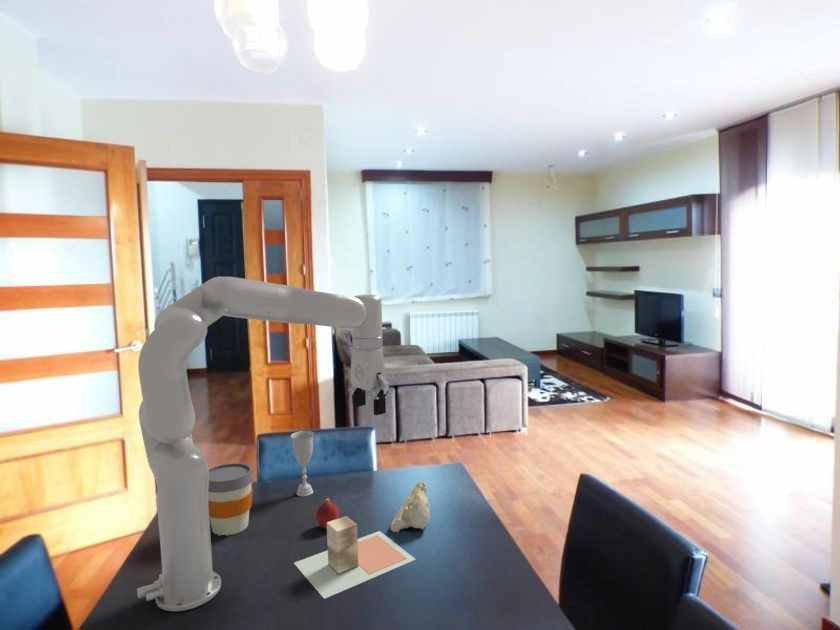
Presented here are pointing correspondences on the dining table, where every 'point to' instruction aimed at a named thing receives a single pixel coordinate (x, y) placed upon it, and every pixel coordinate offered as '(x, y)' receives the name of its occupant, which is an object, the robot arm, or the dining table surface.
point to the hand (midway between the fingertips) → (369, 409)
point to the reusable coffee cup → (229, 497)
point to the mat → (372, 561)
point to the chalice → (303, 457)
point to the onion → (327, 513)
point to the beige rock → (413, 510)
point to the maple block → (342, 545)
